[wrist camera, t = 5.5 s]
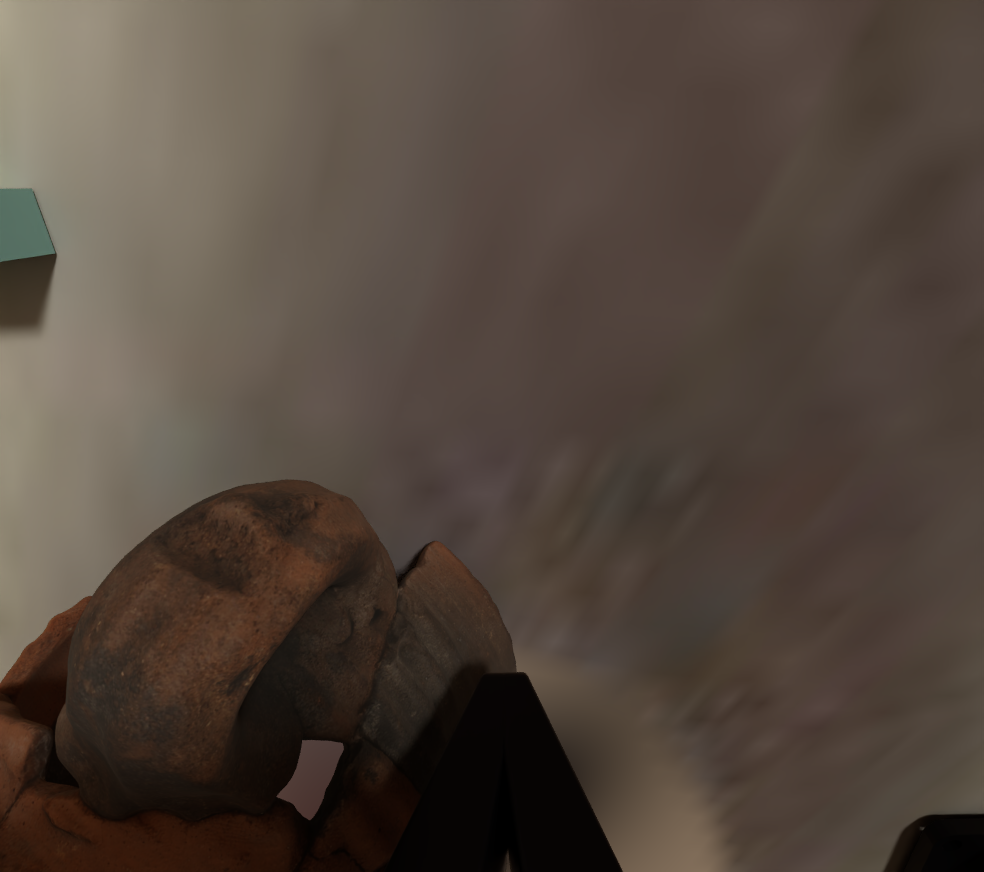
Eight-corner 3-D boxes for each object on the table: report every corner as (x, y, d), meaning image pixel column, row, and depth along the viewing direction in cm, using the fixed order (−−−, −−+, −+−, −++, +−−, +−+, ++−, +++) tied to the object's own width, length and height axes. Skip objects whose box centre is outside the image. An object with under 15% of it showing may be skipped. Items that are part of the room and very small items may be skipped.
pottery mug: (511, 771, 15) (287, 1207, 10) (269, 597, 18) (-17, 852, 12) (660, 464, 8) (-2, 1720, 2) (205, 249, 11) (-618, 483, 5)
